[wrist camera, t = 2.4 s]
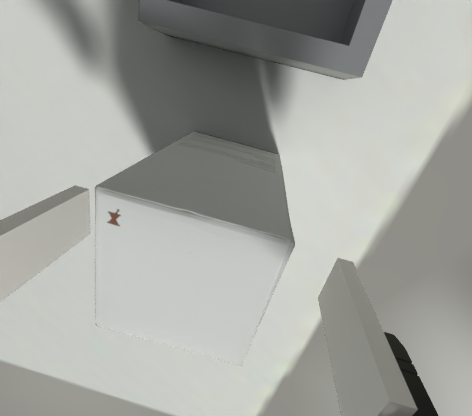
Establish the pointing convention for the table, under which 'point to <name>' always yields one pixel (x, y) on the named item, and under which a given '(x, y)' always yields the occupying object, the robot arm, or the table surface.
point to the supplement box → (192, 245)
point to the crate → (278, 29)
